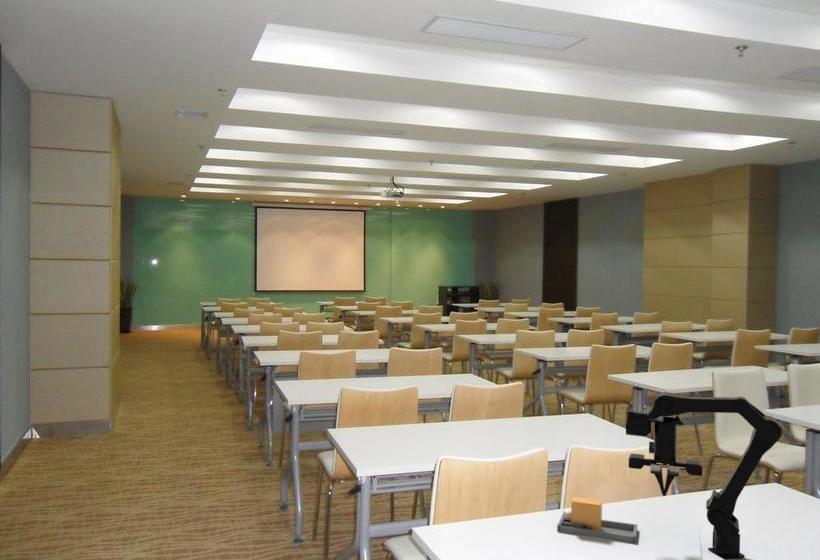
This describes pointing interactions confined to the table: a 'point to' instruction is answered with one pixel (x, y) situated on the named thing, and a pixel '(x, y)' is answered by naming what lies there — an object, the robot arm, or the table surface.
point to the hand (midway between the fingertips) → (664, 495)
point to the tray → (608, 530)
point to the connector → (585, 512)
